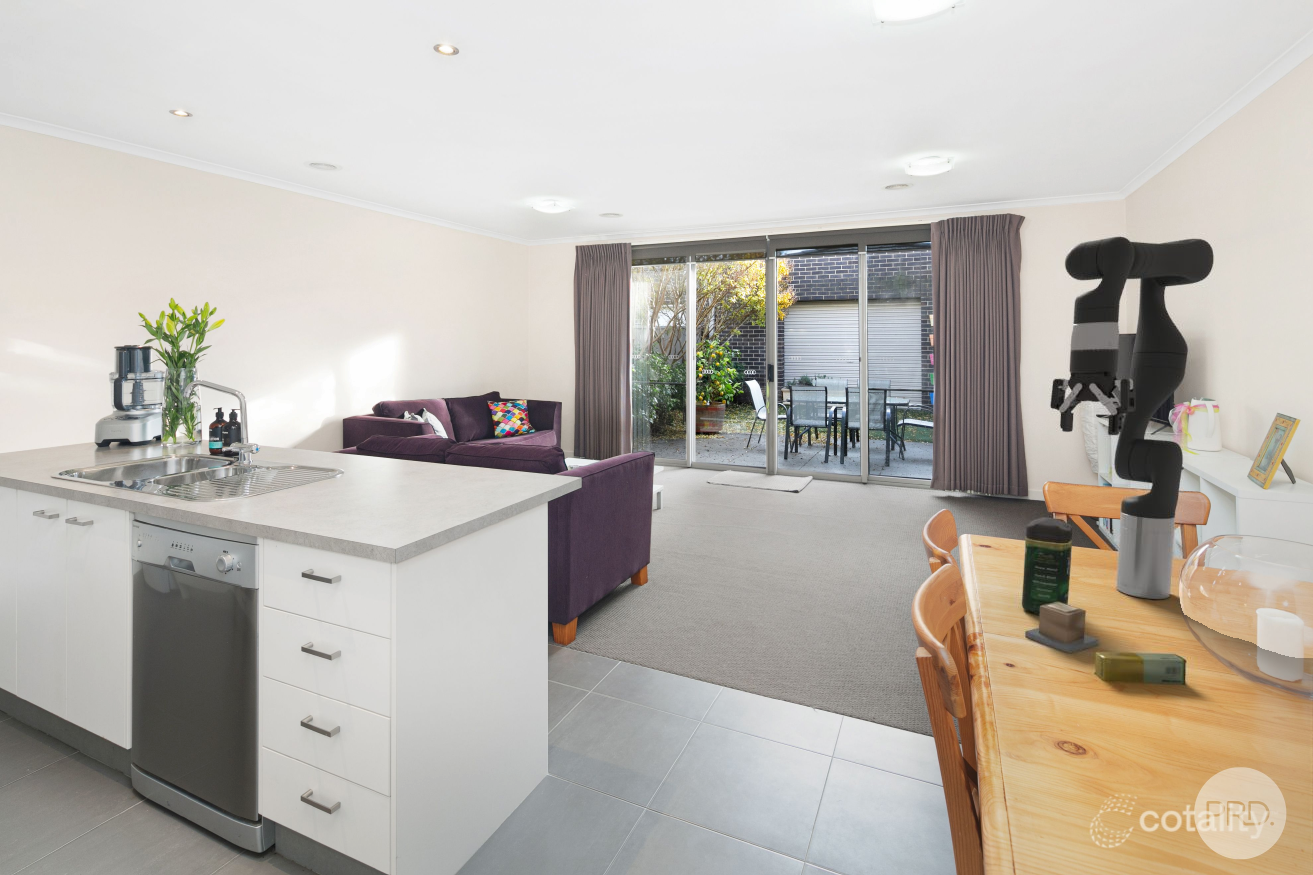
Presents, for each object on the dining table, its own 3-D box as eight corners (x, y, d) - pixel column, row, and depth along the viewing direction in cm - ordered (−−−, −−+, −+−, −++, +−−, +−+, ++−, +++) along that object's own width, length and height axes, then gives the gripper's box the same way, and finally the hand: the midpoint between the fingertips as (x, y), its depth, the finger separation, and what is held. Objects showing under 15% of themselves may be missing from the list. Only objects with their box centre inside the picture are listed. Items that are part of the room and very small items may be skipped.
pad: (1053, 628, 120) (1053, 623, 120) (1098, 644, 113) (1098, 639, 113) (1025, 636, 117) (1025, 631, 117) (1069, 653, 109) (1069, 647, 109)
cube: (1056, 627, 118) (1057, 600, 117) (1084, 637, 113) (1085, 609, 113) (1038, 632, 116) (1040, 604, 115) (1066, 642, 111) (1067, 614, 111)
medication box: (1175, 677, 101) (1176, 652, 101) (1187, 685, 98) (1188, 660, 98) (1093, 674, 103) (1094, 650, 102) (1103, 682, 100) (1104, 657, 100)
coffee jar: (1065, 621, 124) (1070, 526, 122) (1018, 612, 128) (1022, 521, 127) (1070, 606, 131) (1075, 517, 129) (1026, 598, 136) (1030, 512, 134)
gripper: (1147, 346, 116) (1142, 435, 118) (1068, 349, 129) (1064, 429, 131) (1123, 346, 113) (1117, 437, 115) (1044, 349, 126) (1040, 431, 128)
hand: (1089, 433), depth 123 cm, fingers open, 8 cm apart
